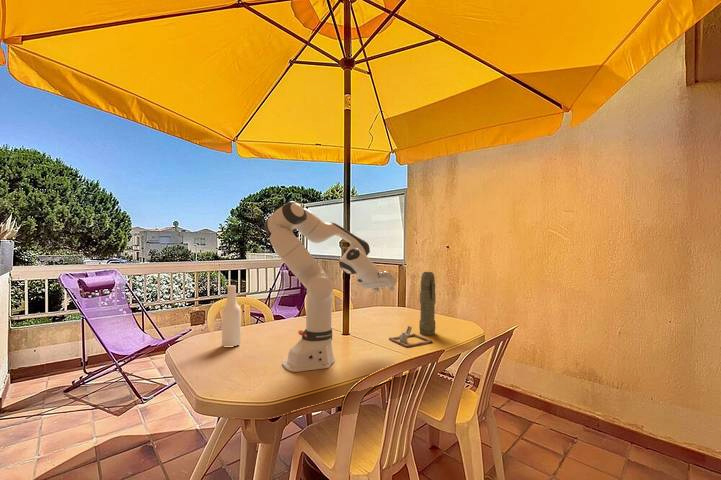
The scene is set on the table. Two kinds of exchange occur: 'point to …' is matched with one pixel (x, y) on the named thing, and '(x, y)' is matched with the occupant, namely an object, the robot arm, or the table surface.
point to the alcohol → (231, 319)
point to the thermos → (427, 304)
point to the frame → (426, 341)
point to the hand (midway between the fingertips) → (385, 290)
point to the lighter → (405, 335)
